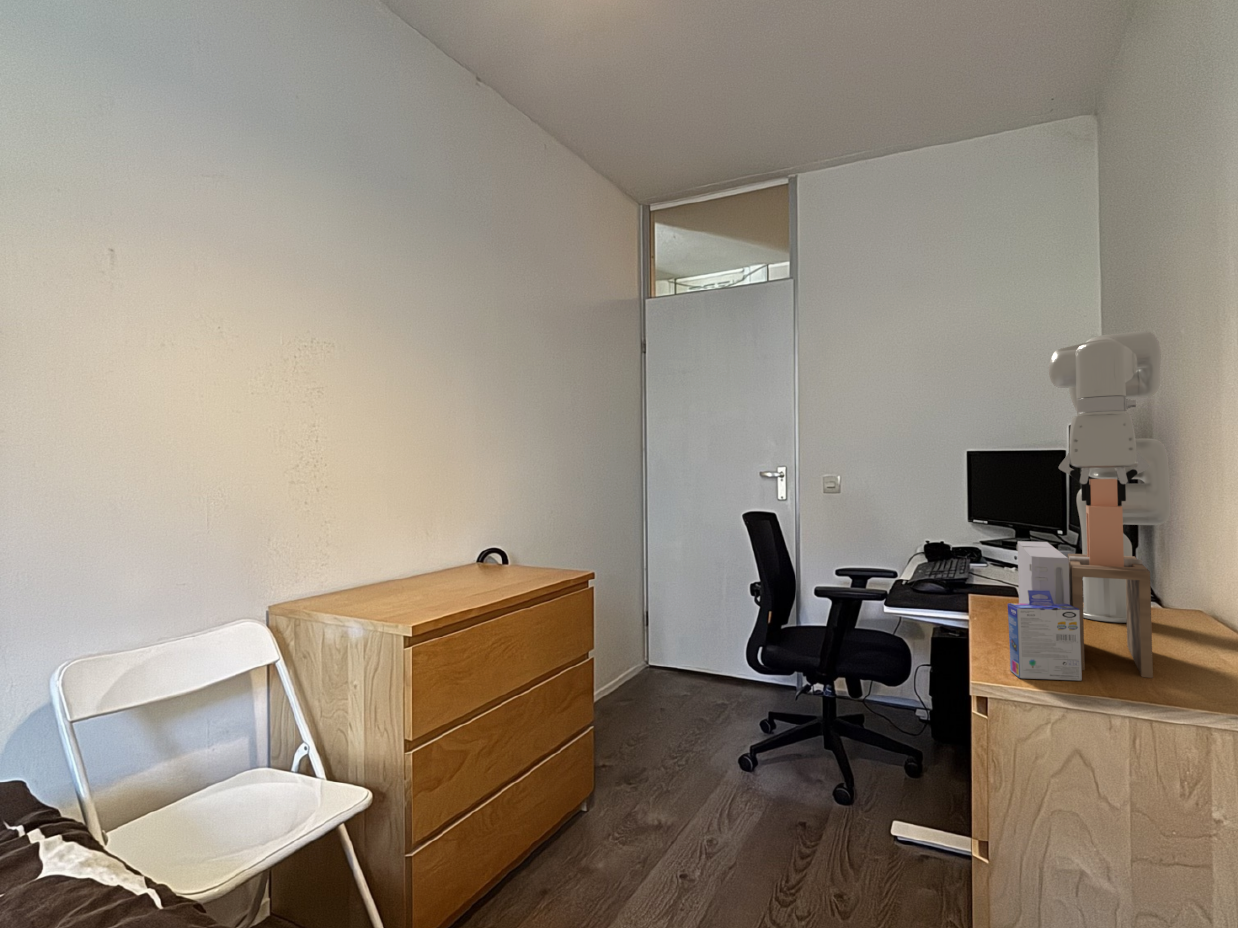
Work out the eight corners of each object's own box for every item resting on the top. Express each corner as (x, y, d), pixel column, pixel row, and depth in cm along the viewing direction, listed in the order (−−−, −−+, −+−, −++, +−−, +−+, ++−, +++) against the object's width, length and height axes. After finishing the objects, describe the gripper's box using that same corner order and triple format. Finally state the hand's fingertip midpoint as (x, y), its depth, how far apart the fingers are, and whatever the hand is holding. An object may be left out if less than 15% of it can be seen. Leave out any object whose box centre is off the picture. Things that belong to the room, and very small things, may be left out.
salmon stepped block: (1087, 563, 130) (1085, 478, 130) (1119, 564, 128) (1117, 478, 128) (1090, 568, 123) (1087, 479, 123) (1123, 570, 120) (1121, 479, 121)
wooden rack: (1069, 640, 138) (1067, 549, 138) (1136, 647, 132) (1134, 552, 132) (1074, 668, 119) (1071, 563, 119) (1152, 677, 113) (1150, 567, 113)
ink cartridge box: (1069, 672, 117) (1067, 589, 117) (1084, 682, 112) (1082, 595, 112) (1007, 669, 119) (1005, 588, 119) (1019, 679, 114) (1017, 594, 114)
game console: (1033, 666, 121) (1030, 556, 121) (1018, 632, 145) (1016, 541, 146) (1071, 670, 118) (1068, 558, 119) (1049, 634, 143) (1047, 541, 143)
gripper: (1154, 406, 124) (1157, 504, 124) (1048, 412, 133) (1050, 503, 133) (1160, 403, 118) (1163, 506, 118) (1048, 409, 127) (1050, 505, 127)
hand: (1103, 504), depth 126 cm, fingers closed on salmon stepped block, 4 cm apart
